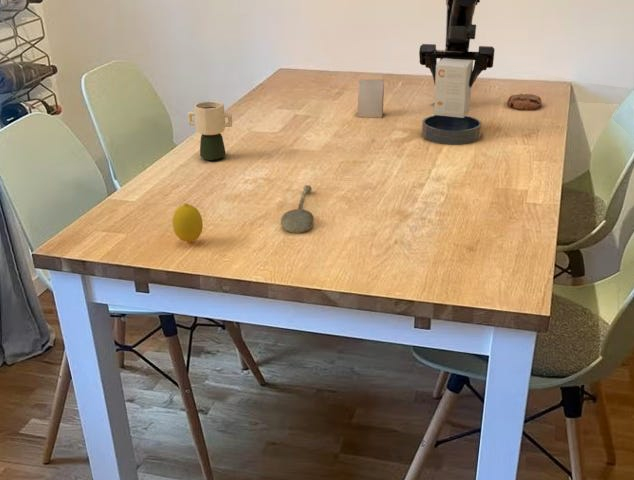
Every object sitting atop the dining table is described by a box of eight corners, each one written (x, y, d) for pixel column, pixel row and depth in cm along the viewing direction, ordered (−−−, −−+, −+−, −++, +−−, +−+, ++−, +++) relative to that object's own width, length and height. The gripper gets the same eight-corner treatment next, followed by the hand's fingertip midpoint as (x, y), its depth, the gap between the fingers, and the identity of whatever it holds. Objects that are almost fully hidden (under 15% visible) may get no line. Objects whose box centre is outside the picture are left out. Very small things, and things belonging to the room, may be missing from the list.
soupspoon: (278, 235, 151) (311, 238, 150) (278, 220, 149) (311, 222, 149) (293, 190, 169) (323, 193, 169) (293, 176, 167) (323, 178, 167)
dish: (410, 133, 205) (410, 120, 203) (453, 123, 212) (454, 111, 210) (448, 148, 194) (449, 134, 192) (492, 137, 201) (493, 124, 199)
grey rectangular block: (381, 117, 218) (382, 81, 212) (357, 116, 219) (358, 80, 214) (383, 113, 221) (384, 78, 216) (359, 112, 222) (360, 77, 217)
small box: (470, 110, 201) (473, 59, 194) (463, 118, 196) (467, 67, 189) (439, 107, 204) (442, 57, 196) (433, 115, 199) (435, 64, 192)
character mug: (238, 154, 191) (235, 101, 184) (230, 164, 185) (227, 109, 178) (196, 152, 193) (191, 100, 186) (187, 161, 187) (182, 108, 180)
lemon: (176, 237, 149) (171, 198, 145) (204, 236, 149) (201, 197, 145) (174, 249, 144) (169, 210, 140) (203, 248, 145) (200, 208, 140)
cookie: (546, 103, 228) (548, 93, 227) (534, 112, 221) (536, 101, 219) (514, 99, 233) (515, 89, 231) (501, 107, 225) (502, 97, 224)
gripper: (422, 10, 192) (414, 66, 189) (498, 12, 189) (491, 69, 185) (423, 36, 203) (416, 90, 200) (496, 39, 199) (489, 93, 196)
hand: (452, 85), depth 195 cm, fingers closed on small box, 8 cm apart
